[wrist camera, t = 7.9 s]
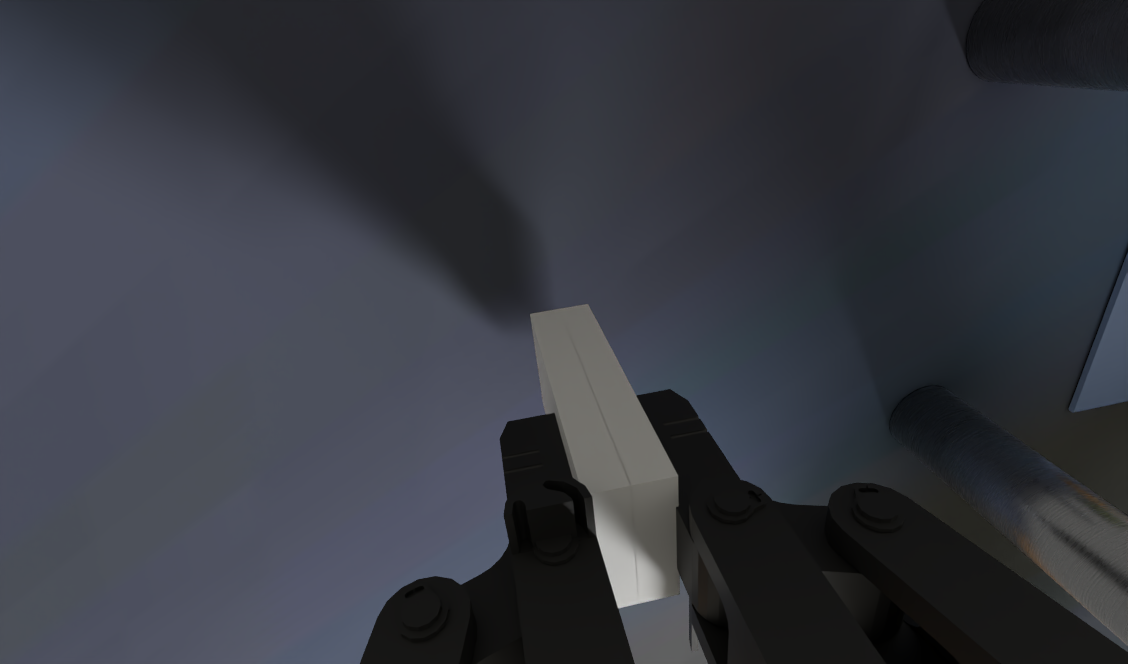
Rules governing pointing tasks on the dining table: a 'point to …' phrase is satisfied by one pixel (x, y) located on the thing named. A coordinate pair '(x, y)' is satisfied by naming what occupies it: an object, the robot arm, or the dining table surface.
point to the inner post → (1023, 499)
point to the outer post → (1051, 43)
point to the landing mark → (1107, 355)
